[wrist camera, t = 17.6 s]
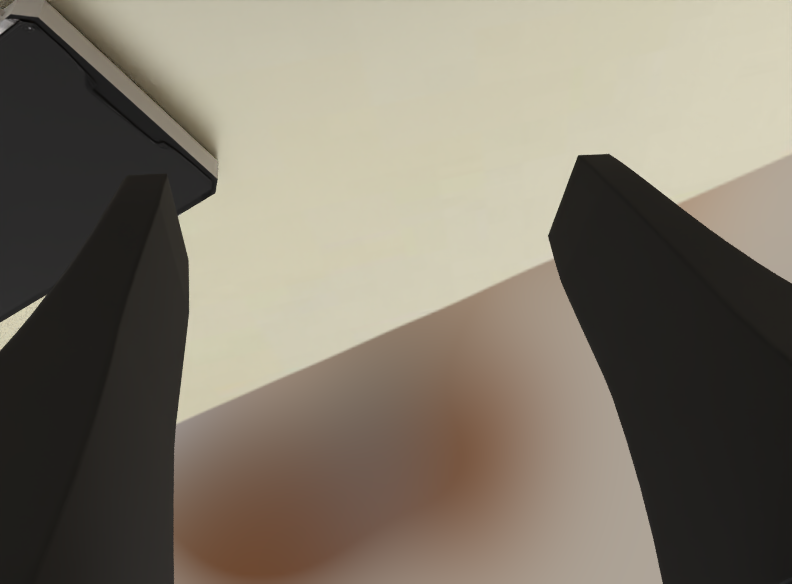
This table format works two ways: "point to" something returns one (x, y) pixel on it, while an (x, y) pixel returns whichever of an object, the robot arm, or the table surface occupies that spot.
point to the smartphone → (73, 147)
